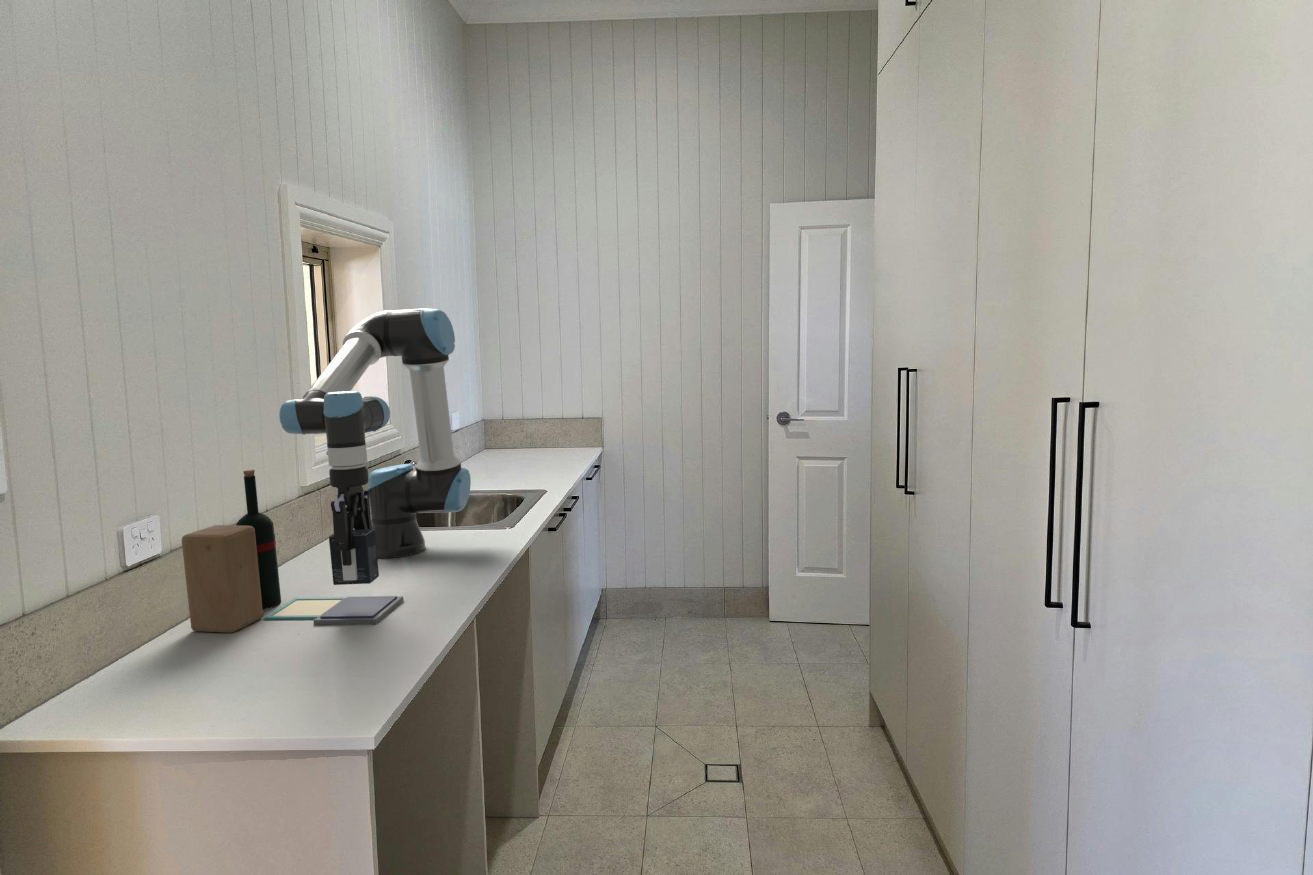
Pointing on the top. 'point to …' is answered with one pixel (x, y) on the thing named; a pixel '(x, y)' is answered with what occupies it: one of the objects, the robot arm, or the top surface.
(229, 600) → the wooden block
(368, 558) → the box
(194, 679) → the top surface
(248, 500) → the wine bottle
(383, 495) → the robot arm
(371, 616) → the ink pad
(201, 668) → the top surface
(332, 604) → the print frame
